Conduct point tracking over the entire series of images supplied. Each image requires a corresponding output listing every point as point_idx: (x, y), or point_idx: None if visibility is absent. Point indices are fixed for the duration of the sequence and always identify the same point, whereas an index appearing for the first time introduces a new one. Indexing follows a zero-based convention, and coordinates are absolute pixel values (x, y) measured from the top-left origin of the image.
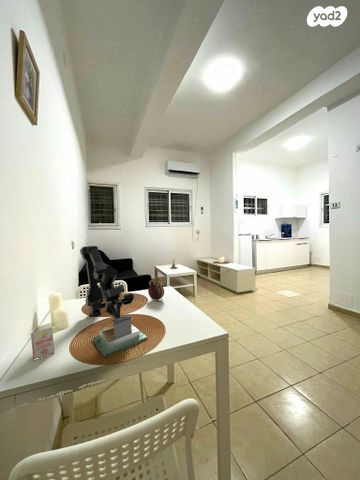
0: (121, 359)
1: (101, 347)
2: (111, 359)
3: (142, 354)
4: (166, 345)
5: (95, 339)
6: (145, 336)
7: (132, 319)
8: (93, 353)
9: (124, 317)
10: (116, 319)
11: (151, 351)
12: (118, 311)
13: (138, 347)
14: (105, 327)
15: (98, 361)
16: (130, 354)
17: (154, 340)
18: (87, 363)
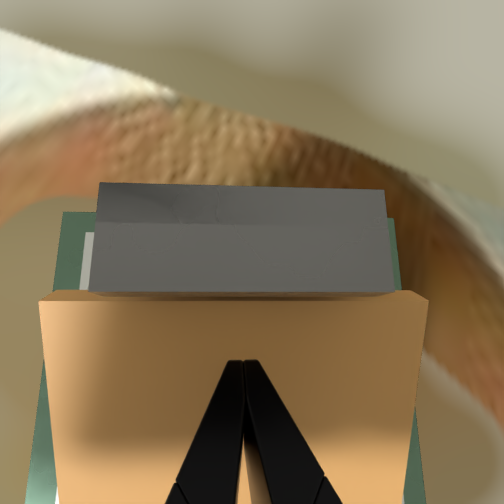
0: (308, 143)
1: None
2: (354, 183)
3: (194, 100)
4: (31, 70)
5: (412, 497)
6: (69, 224)
7: (63, 293)
8: (436, 325)
9: (194, 231)
10: (328, 258)
11: (138, 86)
12: (213, 493)
13: (175, 174)
14: (412, 392)
15: (421, 218)
16: (248, 147)
17: (45, 167)
18: (478, 246)
